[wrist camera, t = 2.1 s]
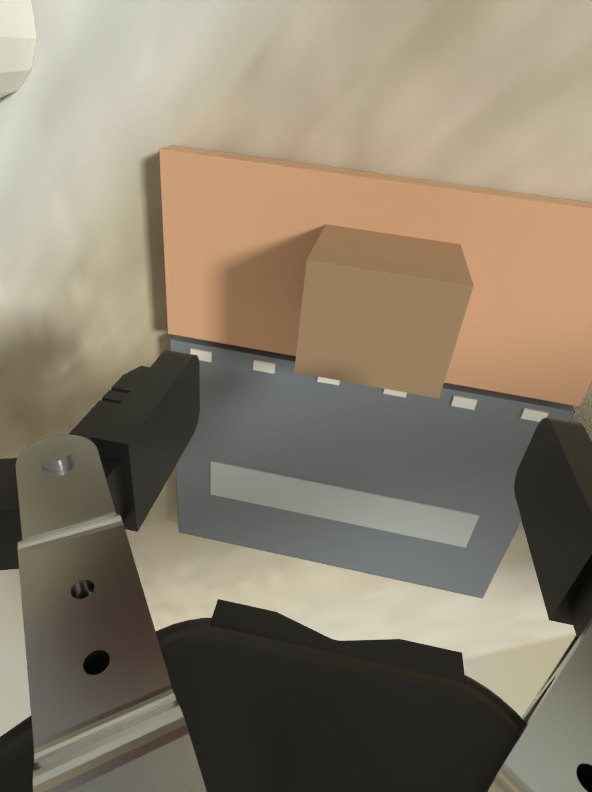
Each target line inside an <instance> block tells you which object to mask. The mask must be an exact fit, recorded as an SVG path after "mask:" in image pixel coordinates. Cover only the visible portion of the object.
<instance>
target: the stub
mask: <svg viewBox="0 0 592 792" xmlns="http://www.w3.org/2000/svg"><path fill="white" fill-rule="evenodd" d="M159 154H160V175H161V196H162V217H163V238H164V259H165V280H166V301H167V323H168V334H173V335H178V336H184V337H190V338H195V339H201V340H207V341H212V342H218V343H224V344H229V345H235V346H241V347H246V348H252V349H258V350H263V351H269V352H275V353H280V354H286V355H291V356H296V360H295V369H294V372H295V373H300V374H306V375H311V376H317V377H322V378H328V379H334V380H339V381H345V382H350V383H356V384H361V385H367V386H372V387H378V388H384V389H389V390H395V391H400V392H406V393H411V394H417V395H422V396H428V397H433V398H439V397H440V394H441V391H442V388H443V384H444V383H450V384H455V385H461V386H467V387H472V388H478V389H484V390H489V391H495V392H501V393H506V394H512V395H518V396H523V397H529V398H535V399H540V400H546V401H551V402H557V403H563V404H568V405H574V406H580V405H581V403H582V401H583V399H584V397H585V395H586V393H587V391H588V389H589V387H590V385H591V383H592V203H589V202H582V201H575V200H567V199H560V198H553V197H545V196H538V195H531V194H524V193H516V192H509V191H502V190H494V189H487V188H480V187H472V186H465V185H458V184H451V183H443V182H436V181H429V180H421V179H414V178H407V177H400V176H392V175H385V174H378V173H370V172H363V171H356V170H349V169H341V168H334V167H327V166H319V165H312V164H305V163H298V162H290V161H283V160H276V159H268V158H261V157H254V156H246V155H239V154H232V153H225V152H217V151H210V150H203V149H195V148H188V147H181V146H174V145H171V146H168V147H164V148H161V149H159Z"/></svg>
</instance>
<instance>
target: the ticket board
mask: <svg viewBox="0 0 592 792" xmlns="http://www.w3.org/2000/svg"><path fill="white" fill-rule="evenodd" d="M170 348H171V351H176V352H182V353H188V354H193V355H197V356H198V358H199V365H200V413H199V419H198V424H197V427H196V430H195V432H194V434H193V436H192V438H191V440H190V441H189V443H188V445H187V446H186V448H185V450H184V452H183V453H182V455H181V457H180V459H179V460H178V462H177V464H176V481H177V503H178V525H179V532H180V533H185V534H189V535H194V536H199V537H203V538H208V539H212V540H217V541H222V542H226V543H231V544H235V545H240V546H244V547H249V548H254V549H258V550H263V551H267V552H272V553H277V554H281V555H286V556H290V557H295V558H299V559H304V560H309V561H313V562H318V563H322V564H327V565H332V566H336V567H341V568H345V569H350V570H354V571H359V572H364V573H368V574H373V575H377V576H382V577H386V578H391V579H396V580H400V581H405V582H409V583H414V584H419V585H423V586H428V587H432V588H437V589H441V590H446V591H451V592H455V593H460V594H464V595H469V596H474V597H478V598H483V596H484V594H485V592H486V590H487V588H488V586H489V584H490V582H491V580H492V578H493V576H494V574H495V572H496V570H497V568H498V566H499V564H500V562H501V560H502V558H503V556H504V554H505V552H506V550H507V548H508V546H509V544H510V542H511V540H512V538H513V536H514V533H515V531H516V529H517V527H518V525H519V523H520V521H521V516H520V512H519V509H518V505H517V501H516V498H515V492H514V483H515V477H516V473H517V470H518V467H519V465H520V463H521V461H522V458H523V456H524V454H525V452H526V450H527V447H528V445H529V443H530V441H531V439H532V436H533V434H534V432H535V430H536V428H537V426H538V424H539V422H540V421H541V420H542V419H543V418H552V419H557V420H563V421H569V422H570V420H571V418H572V416H573V414H574V412H575V411H574V409H573V407H572V405H568V404H563V403H557V402H551V401H546V400H540V399H535V398H529V397H523V396H518V395H512V394H506V393H501V392H495V391H489V390H484V389H478V388H472V387H467V386H461V385H455V384H450V383H444V384H443V388H442V391H441V394H440V397H439V398H433V397H428V396H422V395H417V394H411V393H406V392H400V391H395V390H389V389H384V388H378V387H372V386H367V385H361V384H356V383H350V382H345V381H339V380H334V379H328V378H322V377H317V376H311V375H306V374H300V373H295V372H294V369H295V360H296V356H291V355H286V354H280V353H275V352H269V351H263V350H258V349H252V348H246V347H241V346H235V345H229V344H224V343H218V342H212V341H207V340H201V339H195V338H190V337H184V336H178V335H174V336H173V337H172V338H171V339H170Z"/></svg>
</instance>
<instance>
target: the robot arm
mask: <svg viewBox="0 0 592 792" xmlns="http://www.w3.org/2000/svg"><path fill="white" fill-rule="evenodd" d="M199 413H200V365H199V358H198V356H197V355H193V354H188V353H182V352H176V351H170V350H165V351H164V352H163V353H162V354H161V355H160V357H159V358H158V359H157V360H156V361H155V362H154V364H153V365H152V366H151V367H144V366H140V367H138V368H136V369H134V370H132V371H130V372H129V373H127V374H125V375H123V376H122V377H121V378H120V379H119V380H118V381H117V382H116V383H115V385H114V386H113V387H112V389H111V390H109V391H108V392H107V393H106V394H105V395H104V396H103V398H102V401H99V402H98V403H97V404H96V405H95V406H94V407H93V408H92V409H91V411H90V412H89V413H88V414H87V415H86V416H85V417H84V418H83V419H82V420H81V421H80V423H79V424H78V425H77V426H76V427H75V428H74V429H73V430H72V431H71V432H70V433H69V434H68V435H56V436H51V437H47V438H44V439H41V440H39V441H37V442H35V443H33V444H31V445H30V446H28V447H27V448H26V449H24V450H23V451H22V452H21V453H20V455H19V456H18V458H13V459H0V570H8V569H19V570H20V571H19V572H20V584H21V597H22V609H23V620H24V633H25V645H26V657H27V668H28V682H29V693H30V706H31V716H30V717H28V718H27V719H25V720H24V721H23V722H21V723H20V724H18V725H17V726H15V727H14V728H13V729H11V730H10V731H8V732H7V733H6V734H4V735H3V736H1V737H0V792H592V441H591V440H590V438H589V436H588V434H587V432H586V430H585V428H584V427H583V425H582V424H580V423H575V422H569V421H563V420H557V419H552V418H543V419H542V420H541V421H540V422H539V424H538V426H537V428H536V430H535V432H534V434H533V436H532V439H531V441H530V443H529V445H528V447H527V450H526V452H525V454H524V456H523V458H522V461H521V463H520V465H519V467H518V470H517V473H516V477H515V483H514V492H515V498H516V501H517V505H518V509H519V512H520V516H521V519H522V523H523V527H524V530H525V534H526V538H527V541H528V545H529V548H530V552H531V556H532V559H533V563H534V567H535V570H536V574H537V577H538V581H539V585H540V588H541V592H542V595H543V599H544V603H545V606H546V610H547V614H548V617H549V620H551V621H556V622H561V623H566V624H570V625H574V629H575V632H576V636H575V637H574V639H573V640H572V642H571V643H570V644H569V646H568V647H567V649H566V651H565V652H564V654H563V655H562V657H561V658H560V660H559V661H558V663H557V664H556V666H555V667H554V669H553V671H552V672H551V674H550V675H549V677H548V678H547V680H546V681H545V683H544V684H543V686H542V688H541V689H540V691H539V692H538V694H537V695H536V697H535V698H534V700H533V701H532V703H531V704H530V706H529V708H528V709H527V711H526V712H525V714H524V715H523V716H522V718H521V717H520V716H519V715H518V714H517V713H516V712H515V711H514V710H513V709H512V708H511V707H510V706H509V705H508V704H507V703H505V702H504V701H503V700H502V699H501V698H500V697H498V696H497V695H496V694H494V693H493V692H492V691H490V690H489V689H488V688H486V687H485V686H483V685H481V684H480V683H478V682H477V681H475V680H473V679H472V678H470V677H467V676H466V675H464V667H463V658H462V653H460V652H456V651H451V650H447V649H442V648H438V647H433V646H429V645H424V644H420V643H415V642H410V641H406V640H401V639H391V640H358V641H337V640H333V639H330V638H328V637H326V636H324V635H322V634H320V633H318V632H316V631H314V630H312V629H310V628H308V627H306V626H304V625H302V624H300V623H298V622H296V621H294V620H291V619H289V618H287V617H285V616H283V615H281V614H279V613H277V612H274V611H269V610H265V609H260V608H256V607H251V606H247V605H242V604H238V603H233V602H228V601H224V600H219V599H218V601H217V604H216V607H215V610H214V613H213V616H212V618H200V619H194V620H187V621H184V622H180V623H176V624H173V625H170V626H168V627H165V628H163V629H160V630H158V631H156V632H155V629H154V625H153V622H152V619H151V615H150V612H149V609H148V605H147V602H146V599H145V595H144V592H143V589H142V585H141V582H140V578H139V575H138V572H137V568H136V565H135V562H134V558H133V555H132V552H131V548H130V545H129V542H128V538H127V535H126V532H125V529H127V530H132V531H137V532H138V530H139V528H140V527H141V525H142V523H143V521H144V520H145V518H146V516H147V514H148V513H149V511H150V509H151V507H152V506H153V504H154V502H155V500H156V499H157V497H158V495H159V494H160V492H161V490H162V488H163V487H164V485H165V483H166V481H167V480H168V478H169V476H170V474H171V473H172V471H173V469H174V467H175V466H176V464H177V462H178V460H179V459H180V457H181V455H182V453H183V452H184V450H185V448H186V446H187V445H188V443H189V441H190V440H191V438H192V436H193V434H194V432H195V430H196V427H197V424H198V419H199Z"/></svg>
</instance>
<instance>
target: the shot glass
mask: <svg viewBox="0 0 592 792" xmlns="http://www.w3.org/2000/svg"><path fill="white" fill-rule="evenodd" d="M36 41H37V37H36V30H35V23H34V17H33V10H32V3H31V0H0V98H1V97H4V96H6V95H8V94H11V93H13V92H15V91H17V90H18V89H19V87H20V86H21V84H22V83H23V81H24V80H25V78H26V77H27V76H28V74H29V73H30V71H31V70H32V64H33V58H34V52H35V46H36Z"/></svg>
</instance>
